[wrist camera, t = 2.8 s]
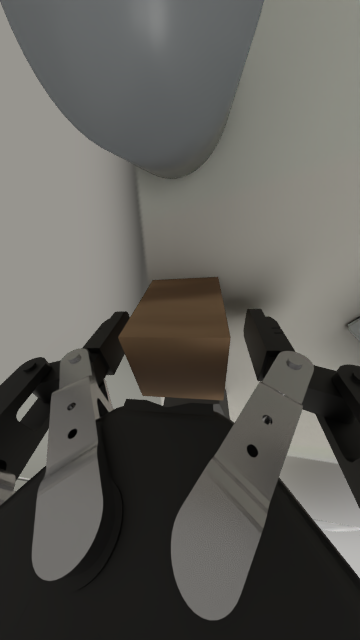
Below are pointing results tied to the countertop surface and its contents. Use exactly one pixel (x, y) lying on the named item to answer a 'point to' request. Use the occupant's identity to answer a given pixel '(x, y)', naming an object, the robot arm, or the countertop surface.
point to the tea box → (355, 328)
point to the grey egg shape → (140, 71)
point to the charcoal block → (218, 405)
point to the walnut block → (179, 339)
